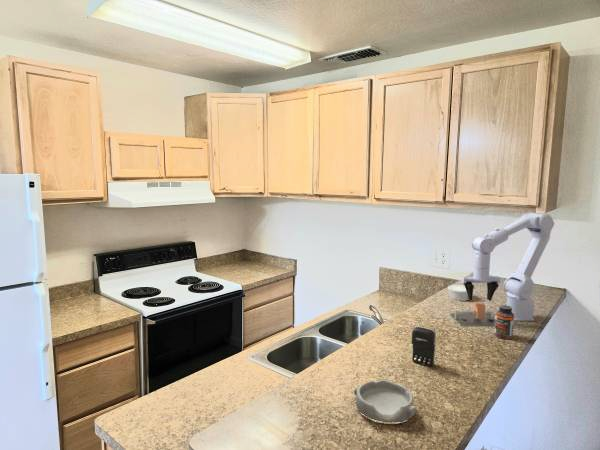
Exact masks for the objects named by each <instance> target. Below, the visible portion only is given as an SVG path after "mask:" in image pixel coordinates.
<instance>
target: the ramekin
mask: <svg viewBox="0 0 600 450" xmlns="http://www.w3.org/2000/svg"><path fill="white" fill-rule="evenodd" d="M447 289H448V295H449V297H450V298H452V299H451V300H453V299H455V300H454V301H457V300H461V301H460V302H467V301H466V300H469V299H468V294H467V291H466V288H465V286H464V284H451V285H448V286H447ZM469 301H470V300H469Z"/></svg>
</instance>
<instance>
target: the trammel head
mask: <svg viewBox="0 0 600 450" xmlns="http://www.w3.org/2000/svg"><path fill="white" fill-rule="evenodd" d="M472 311H476V318H479V319H480V320H482V318H485V311H486V304H485V303H483V302H482V301H480V302H479V301H473V310H472Z"/></svg>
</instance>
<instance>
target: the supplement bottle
mask: <svg viewBox="0 0 600 450" xmlns="http://www.w3.org/2000/svg"><path fill="white" fill-rule="evenodd" d="M511 311H512V307H510V306H506V305H505V304H502V305H499V310H497V311H496V313H495V319H496V320H495V326H494V335H495V336H496V337H497V338H499V339H503V340H511V339H512V338H513V335H514V325H515V321H514V314H513V313H512V312H511Z"/></svg>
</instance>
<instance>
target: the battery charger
mask: <svg viewBox="0 0 600 450" xmlns="http://www.w3.org/2000/svg"><path fill="white" fill-rule="evenodd" d="M411 332H412V333H411V344H412V359H411V360H412V362H413V363H416V364H419V365H422V366H427V367H432V366H434V365H435V358H436V357H435V355H436V345H437V344H436V343H437V341H436V340H437V334H436V331H435V329H432V328H430V327H427V326H426V327H425V326H421V325H418V326H415V327H414V329H412V331H411Z"/></svg>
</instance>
